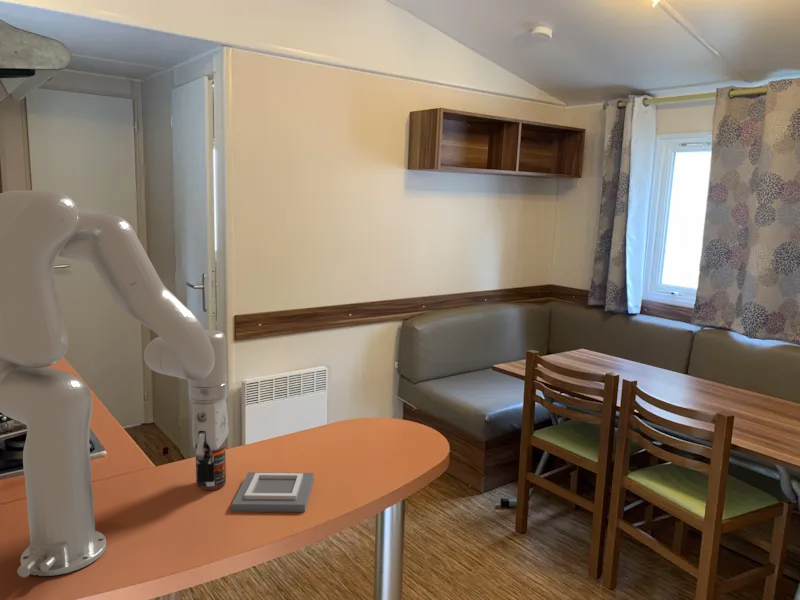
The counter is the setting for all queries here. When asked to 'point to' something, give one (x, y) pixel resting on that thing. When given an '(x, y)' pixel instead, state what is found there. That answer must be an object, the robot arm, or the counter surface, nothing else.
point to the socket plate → (274, 492)
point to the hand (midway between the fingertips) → (211, 473)
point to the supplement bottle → (215, 469)
